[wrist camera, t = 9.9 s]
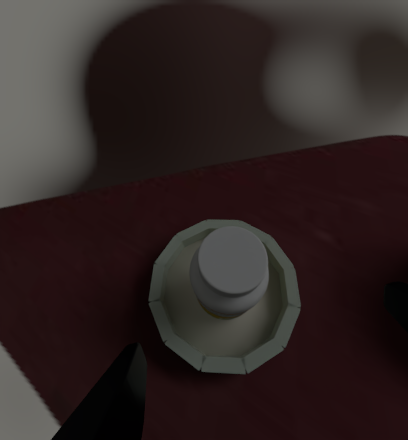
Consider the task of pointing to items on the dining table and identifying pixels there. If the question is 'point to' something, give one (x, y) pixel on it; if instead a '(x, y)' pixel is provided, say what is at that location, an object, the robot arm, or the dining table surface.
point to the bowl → (217, 328)
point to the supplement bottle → (229, 272)
